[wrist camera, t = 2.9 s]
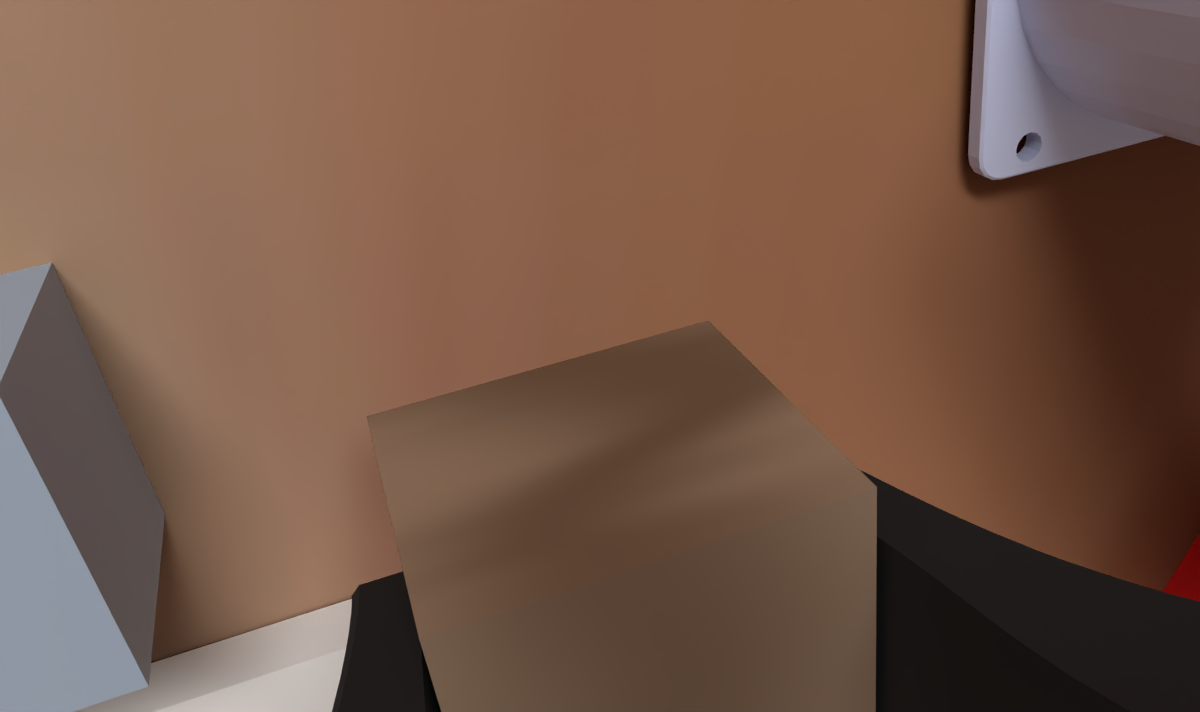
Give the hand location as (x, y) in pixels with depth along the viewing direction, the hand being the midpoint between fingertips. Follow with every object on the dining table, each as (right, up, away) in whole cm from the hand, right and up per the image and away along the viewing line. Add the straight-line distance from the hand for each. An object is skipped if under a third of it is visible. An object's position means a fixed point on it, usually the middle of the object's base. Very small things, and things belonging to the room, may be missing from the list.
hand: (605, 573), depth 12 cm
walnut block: (-1, +1, +1) cm, 2 cm away
